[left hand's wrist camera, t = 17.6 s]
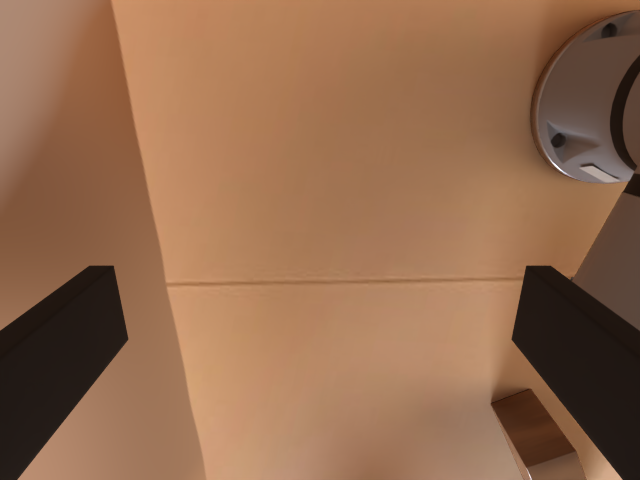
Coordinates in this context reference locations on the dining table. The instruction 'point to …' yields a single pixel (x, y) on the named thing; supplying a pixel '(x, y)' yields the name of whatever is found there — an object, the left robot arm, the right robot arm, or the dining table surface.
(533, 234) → the dining table surface
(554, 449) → the bar
